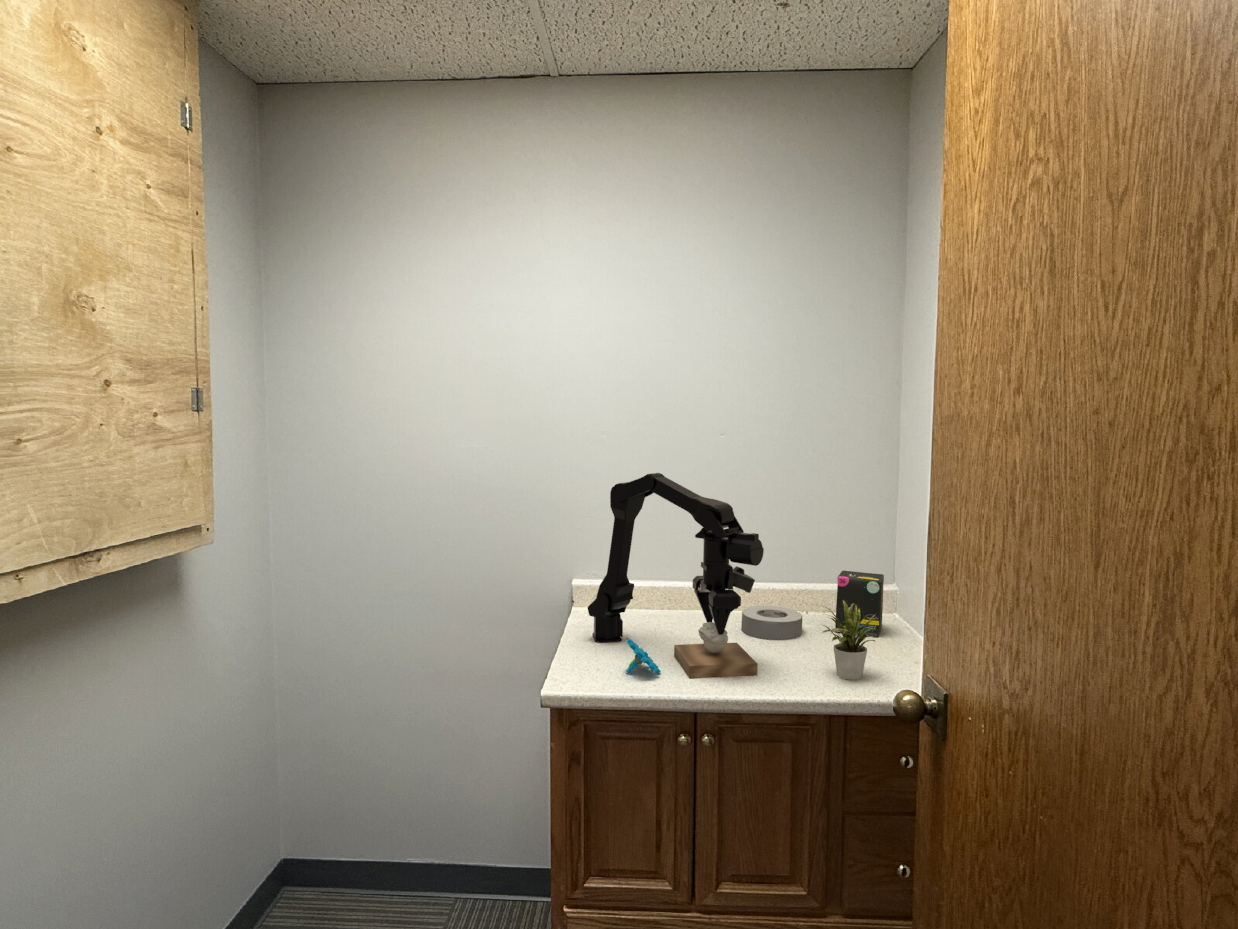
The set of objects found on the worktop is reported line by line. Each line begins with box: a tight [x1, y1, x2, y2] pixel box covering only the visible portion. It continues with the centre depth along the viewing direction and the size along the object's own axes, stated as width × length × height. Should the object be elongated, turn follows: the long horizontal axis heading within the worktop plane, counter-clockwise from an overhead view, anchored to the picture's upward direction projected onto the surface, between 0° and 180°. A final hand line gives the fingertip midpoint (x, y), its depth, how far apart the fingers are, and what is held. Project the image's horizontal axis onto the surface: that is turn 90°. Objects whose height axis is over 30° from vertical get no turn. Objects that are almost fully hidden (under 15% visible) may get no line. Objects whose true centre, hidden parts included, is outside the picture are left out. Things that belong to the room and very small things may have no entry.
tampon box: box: [834, 570, 885, 638], centre depth 207 cm, size 11×9×15 cm
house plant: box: [819, 601, 877, 681], centre depth 174 cm, size 14×14×16 cm
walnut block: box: [673, 642, 758, 679], centre depth 179 cm, size 15×15×4 cm
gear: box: [625, 638, 662, 675], centre depth 174 cm, size 11×6×10 cm
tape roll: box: [741, 605, 803, 641], centre depth 206 cm, size 15×15×5 cm
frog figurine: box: [697, 621, 729, 653], centre depth 179 cm, size 6×7×7 cm
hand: (714, 628), depth 179 cm, fingers open, 9 cm apart
